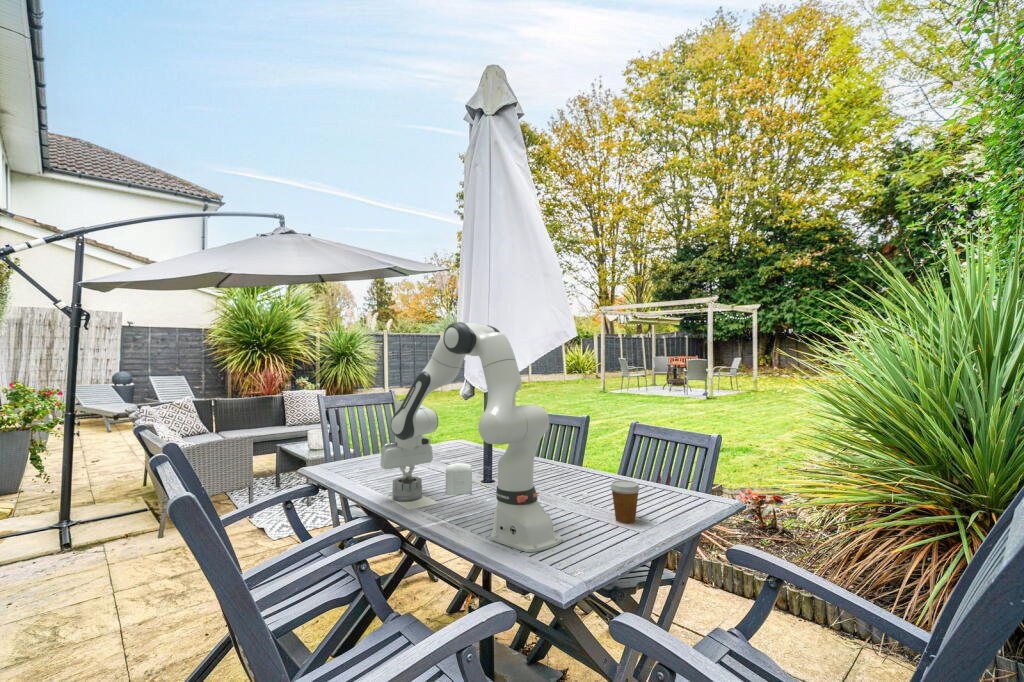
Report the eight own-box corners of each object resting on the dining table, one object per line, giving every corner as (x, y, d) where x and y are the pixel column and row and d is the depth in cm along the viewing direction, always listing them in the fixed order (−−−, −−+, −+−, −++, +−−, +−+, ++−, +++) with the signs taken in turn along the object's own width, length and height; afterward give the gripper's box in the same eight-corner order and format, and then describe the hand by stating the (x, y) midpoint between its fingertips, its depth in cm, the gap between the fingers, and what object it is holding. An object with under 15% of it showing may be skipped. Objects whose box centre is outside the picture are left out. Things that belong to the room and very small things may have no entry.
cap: (416, 487, 183) (416, 477, 183) (404, 489, 180) (404, 480, 180) (410, 484, 187) (410, 475, 187) (398, 486, 184) (398, 477, 184)
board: (438, 505, 177) (438, 502, 177) (408, 512, 169) (408, 509, 169) (415, 493, 192) (415, 491, 192) (386, 499, 184) (386, 497, 184)
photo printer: (471, 492, 192) (471, 461, 193) (472, 496, 188) (472, 464, 188) (445, 494, 191) (445, 462, 191) (445, 497, 187) (445, 465, 187)
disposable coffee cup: (608, 515, 165) (608, 479, 165) (637, 515, 164) (636, 479, 165) (612, 525, 156) (612, 487, 156) (643, 525, 155) (642, 487, 155)
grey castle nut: (427, 497, 183) (427, 480, 183) (400, 503, 176) (400, 485, 176) (414, 491, 191) (414, 474, 192) (387, 496, 185) (387, 479, 185)
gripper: (384, 445, 175) (384, 484, 175) (434, 438, 188) (434, 474, 188) (377, 443, 180) (377, 480, 180) (426, 436, 193) (427, 471, 193)
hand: (407, 477), depth 184 cm, fingers closed, pressing on cap
